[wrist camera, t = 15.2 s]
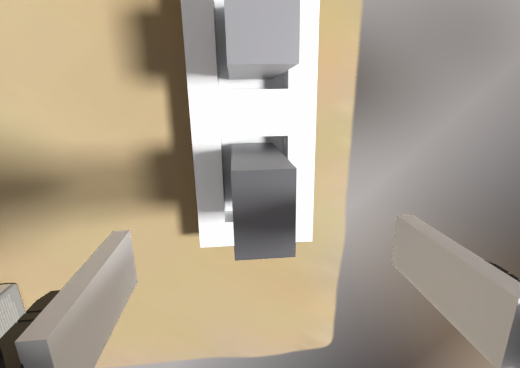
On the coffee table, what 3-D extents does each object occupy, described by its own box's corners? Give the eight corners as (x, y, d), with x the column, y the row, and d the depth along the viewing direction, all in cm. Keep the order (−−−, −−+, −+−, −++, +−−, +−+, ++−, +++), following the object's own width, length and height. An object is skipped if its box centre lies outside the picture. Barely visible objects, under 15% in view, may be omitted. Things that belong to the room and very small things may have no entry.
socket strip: (203, 232, 32) (186, 310, 20) (183, -37, 25) (138, -161, 13) (304, 226, 33) (344, 298, 21) (310, -35, 26) (374, -150, 14)
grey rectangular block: (234, 201, 31) (235, 260, 19) (231, 143, 29) (230, 170, 18) (272, 199, 31) (295, 256, 20) (272, 142, 30) (296, 168, 18)
